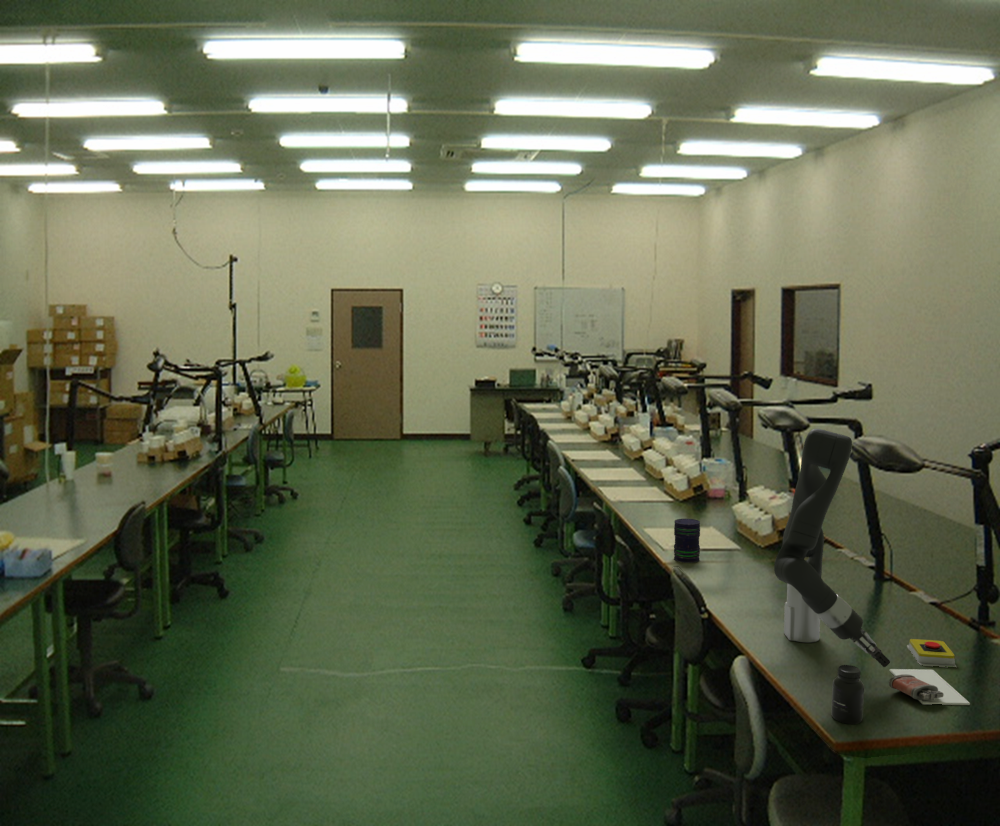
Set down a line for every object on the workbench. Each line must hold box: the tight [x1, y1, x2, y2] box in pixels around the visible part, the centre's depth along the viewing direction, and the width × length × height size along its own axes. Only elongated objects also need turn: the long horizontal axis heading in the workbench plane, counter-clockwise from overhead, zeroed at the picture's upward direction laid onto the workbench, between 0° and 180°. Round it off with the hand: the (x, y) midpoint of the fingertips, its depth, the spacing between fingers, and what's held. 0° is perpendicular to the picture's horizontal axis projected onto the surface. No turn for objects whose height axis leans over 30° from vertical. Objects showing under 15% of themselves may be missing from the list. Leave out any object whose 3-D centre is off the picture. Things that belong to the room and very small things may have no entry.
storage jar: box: [673, 518, 701, 564], centre depth 335 cm, size 10×10×15 cm
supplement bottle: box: [830, 664, 865, 725], centre depth 201 cm, size 7×7×12 cm
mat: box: [889, 668, 971, 706], centre depth 218 cm, size 11×20×1 cm, turn 177°
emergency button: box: [906, 638, 957, 668], centre depth 238 cm, size 9×4×15 cm
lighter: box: [888, 674, 944, 701], centre depth 212 cm, size 8×3×10 cm
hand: (886, 663), depth 218 cm, fingers closed
